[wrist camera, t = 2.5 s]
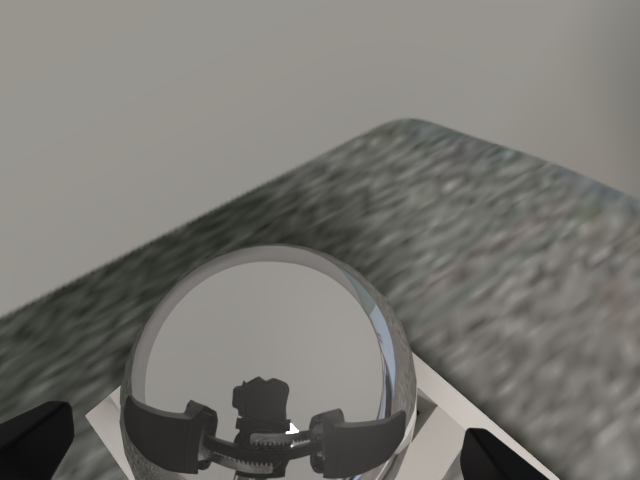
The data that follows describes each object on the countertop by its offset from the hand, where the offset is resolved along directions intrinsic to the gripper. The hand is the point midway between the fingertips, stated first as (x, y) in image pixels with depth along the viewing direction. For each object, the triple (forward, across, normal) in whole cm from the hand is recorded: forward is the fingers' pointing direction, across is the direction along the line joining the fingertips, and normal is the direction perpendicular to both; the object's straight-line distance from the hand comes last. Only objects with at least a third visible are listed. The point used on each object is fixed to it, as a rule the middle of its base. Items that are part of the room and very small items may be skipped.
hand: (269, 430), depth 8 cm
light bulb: (+7, 0, +6) cm, 9 cm away
